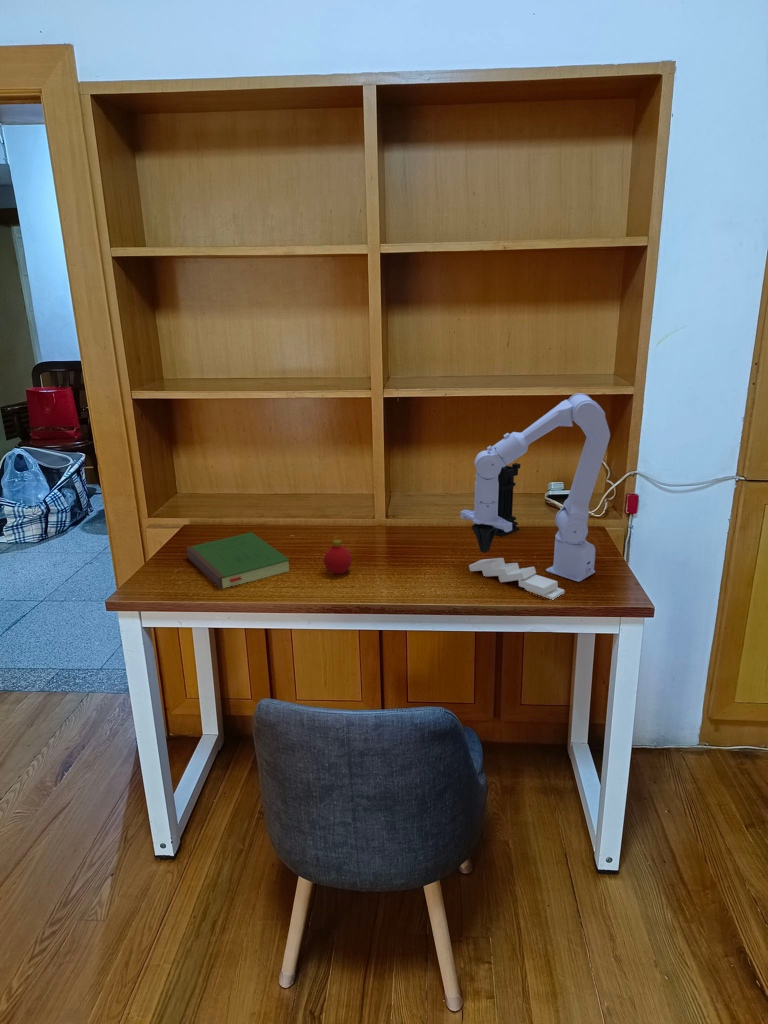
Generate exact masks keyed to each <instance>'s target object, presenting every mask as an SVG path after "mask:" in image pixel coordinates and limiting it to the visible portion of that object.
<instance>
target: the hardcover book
mask: <svg viewBox="0 0 768 1024" xmlns="http://www.w3.org/2000/svg"><path fill="white" fill-rule="evenodd" d="M186 551H187V559H188V560H189V561H190V562H191V563H193V565H194V566H195V567H196V568H197V569H199V570H200V572H202V573H203V575H204V576H206V577H207V578H208V579H209V580H210V581H211V582H212V583H213V584H214V583H215V584H216V585H217V586H218V587H219V588H220V589H223V588H225V587H229V588H231V587H230V586H233V587H235V586H234V585H237V586H239V585H238V584H240V585H242V584H243V583H244V584H247V583H246V582H248V583H251V582H254V581H258V580H261V579H265V578H268V577H272V576H276V575H280V574H283V573H287V572H290V565H289V564H290V563H289V561H291V560H290V559H289V557H287V556H286V555H284V554H282V553H281V552H280V551H278V550H277V549H275V548H274V547H273V546H272V545H270V544H268V543H267V542H266V541H264V540H263V539H261V537H259V536H257V535H256V534H255V533H253V532H252V531H250V532H246V533H242V534H237V535H233V536H229V537H226V538H221V539H217V540H212V541H207V542H203V543H199V544H196V545H191V546H187V547H186ZM250 581H251V582H250ZM215 584H214V585H215ZM244 584H243V585H244ZM216 585H215V586H216ZM217 586H216V587H217ZM218 587H217V588H218ZM219 588H218V589H219ZM220 589H219V590H220ZM223 590H224V589H223Z"/></svg>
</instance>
